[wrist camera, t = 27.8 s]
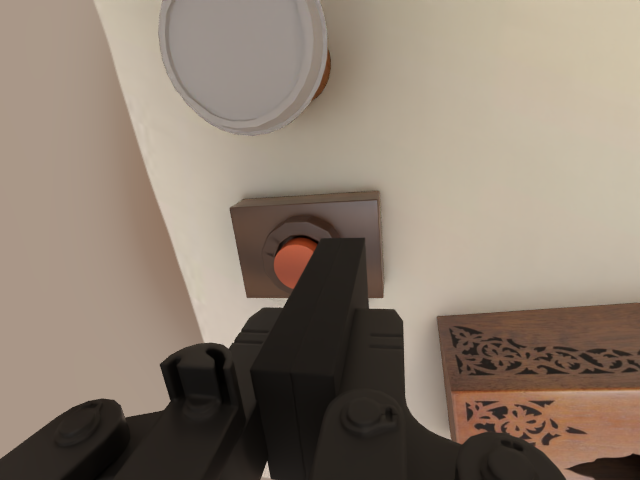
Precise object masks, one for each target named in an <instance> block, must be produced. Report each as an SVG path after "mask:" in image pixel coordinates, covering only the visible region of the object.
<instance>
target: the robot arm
mask: <svg viewBox="0 0 640 480" xmlns="http://www.w3.org/2000/svg"><path fill="white" fill-rule="evenodd" d="M234 341H235V342H234V343H232V345H231V346H230V348H229V349H228V348H227V347H225V346H224V345H221V344H216V343H201V344H196V345H192V346H189V347H186V348H183V349H181V350H179V351H177V352H175V353H174V354H172V355H170V356H169V357H168V358H167V359H166V360H164V361H163V362H162V363H161V364H160V367H161V370H162V374H163V377H164V380H165V384H166V387H167V390H168V394H169V397H170V400H171V402H170V403H169V405H168V406H167V407H166V408H165V410H163V411H159V412H153V413H148V414H143V415H137V416H131V417H126V418H125V416H124V413H123V411H122V408H121V405H119V404H118V403H117V402H116V401H115V400H109V399H98V400H92V401H88V402H85V403H83V404H80V405H77V406H75V407H72V408H71V409H69V410H68V411H66V412H64V413H63V414H61V415H59V416H58V417H56V418H55V419H54V420H52V421H51V422H50V423H48V424H47V425H46V426H44V427H43V428H42V429H40V430H39V431H38V432H36V433H35V434H33V435H32V436H31V437H29V438H28V439H27V440H25V441H24V442H23V443H21V444H20V445H19V446H17V447H16V448H15V449H13V450H12V451H10V452H9V453H8V454H7V455H5V456H4V457H2V458H1V459H0V480H260V479H261V476H262V474H263V471H264V468H265V465H266V462H267V461H268V466H269V471H270V477H271V479H274V480H566V478H565V477H564V475H563V474H562V472H561V471H560V470H559V468H558V467H557V466H556V465H555V464H554V463H553V462H552V461H551V460H550V459H549V458H548V457H547V455H546V454H545V453H544V452H542V451H541V450H539V449H538V448H536V447H535V446H533V445H532V444H530V443H528V442H527V441H525V440H523V439H520V438H518V437H515V436H512V435H509V434H506V433H496V432H484V433H480V434H477V435H474V436H470V437H469V438H468V439H467V440H466V441H465V442H464V443H463V444H460V443H457V442H454V441H452V440H449V439H446V438H444V437H441V436H439V435H437V434H435V433H433V432H431V431H429V430H428V429H426V428H425V427H424V426H422V425H421V424H420V423H418V421H417V420H416V419H415V418H414V417H413V416H412V415H411V413H410V411H409V409H408V407H407V404H406V399H405V376H404V338H403V320H402V319H401V318H400V316H399V315H398V314H397V312H396V311H395V310H394V309H369V304H368V284H367V265H366V245H365V237H364V238H321V239H320V241H319V243H318V245H317V247H316V249H315V250H314V252H313V254H312V256H311V258H310V260H309V261H308V263H307V265H306V267H305V269H304V271H303V273H302V274H301V276H300V278H299V280H298V282H297V284H296V285H295V287H294V289H293V291H292V293H291V295H290V296H289V298H288V300H287V302H286V304H285V306H284V308H262V309H261V310H260V311H258V312H257V313H255V314H254V315H253V316H251V317H250V318H249V319H248V321H247V322H246V324H245V325H244V327H243V328H242V330H241V332H240V333H239V334H238V336H237V337H236V339H235V340H234Z"/></svg>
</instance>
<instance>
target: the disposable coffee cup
mask: <svg viewBox="0 0 640 480" xmlns="http://www.w3.org/2000/svg"><path fill="white" fill-rule="evenodd" d="M158 33H159V41H160V49H161V54H162V59H163V63H164V66H165V68H166V71H167V74H168V76H169V78H170V80H171V82H172V84H173V86H174V88H175V89H176V91H177V92H178V93H179V94H180V96H181V97H182V98H183V100H184V101H185V102H186V103H187V104H188V105H189V106H190V107H191V108H192V109H193V110H194V111H195V112H196V113H197V114H198V115H199V116H200V117H202V118H203V119H204V120H205V121H207V122H208V123H210V124H211V125H213V126H215V127H217V128H219V129H221V130H224V131H227V132H230V133H233V134H237V135H249V136H255V135H261V134H267V133H270V132H273V131H276V130H278V129H280V128H283V127H284V126H286V125H287V124H289V123H290V122H292V121H293V120H294V119H295V118H297V117H298V116H299V115H300V114H301V113H302V112H303V110H304V109H305V108H306V107H307V106H308V105H309V104H310V102H311V101H312V100H314V99H315V98H317V97H318V96H319V95H320V94H321V92H322V91H323V89H324V88H325V86H326V84H327V81H328V79H329V75H330V69H331V64H330V62H331V61H330V54H329V50H328V47H327V45H328V35H327V28H326V22H325V16H324V13H323V10H322V6H321V3H320V0H163V1H162V5H161V10H160V15H159V32H158Z"/></svg>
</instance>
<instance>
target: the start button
mask: <svg viewBox="0 0 640 480" xmlns="http://www.w3.org/2000/svg"><path fill="white" fill-rule="evenodd" d="M317 245H318V244H317V243H315V242H314V241H312V240H310V239H307V238H300V237H299V238H294V239H291V240H289V241H288V242H286V243H285V244H284V245H283V247H282V248H281V249H280V250H279V252H278V253H277V255H276V256H275V259H274V270H275V273H276V275H277V277H278V279H279V280H280V281H281V282H282V283H283V284H284V285H286V286H288V287H290V288H292V289H294V287H295V285H296V284H297V282H298V280H299V278H300V276H301V274H302V273H303V271H304V269H305V267H306V265H307V263H308V261H309V260H310V258H311V256H312V254H313V252H314V250H315V249H316V247H317Z"/></svg>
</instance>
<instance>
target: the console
mask: <svg viewBox="0 0 640 480" xmlns="http://www.w3.org/2000/svg"><path fill="white" fill-rule="evenodd" d="M230 213H231V218H232V223H233V229H234V234H235V239H236V244H237V249H238V254H239V260H240V265H241V270H242V275H243V280H244V286H245V291H246V296H247V298H289V296H290V295H291V293H292V291H293V289H292V288H290V287H288V286H286V285H284V284H283V283H282V282H281V281H280V280H279V279H278V277H277V275H276V273H275V270H274V259H275V256H276V255H277V253H278V252H279V250H280V249H281V248H282V247H283V245H284V244H285V243H286V242H288V241H289V240H291V239H294V238H299V237H300V238H307V239H310V240H312V241H314V242H315V243H317V244H318V243H319V241H320V239H321V238H364V237H365V245H366V265H367V284H368V298H383V295H384V265H383V246H382V226H381V207H380V191H368V192H352V193H336V194H320V195H304V196H287V197H271V198H255V199H243V200H241V201H240V202H238V203H237V204H235V205H233V206H232V207H230Z"/></svg>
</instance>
